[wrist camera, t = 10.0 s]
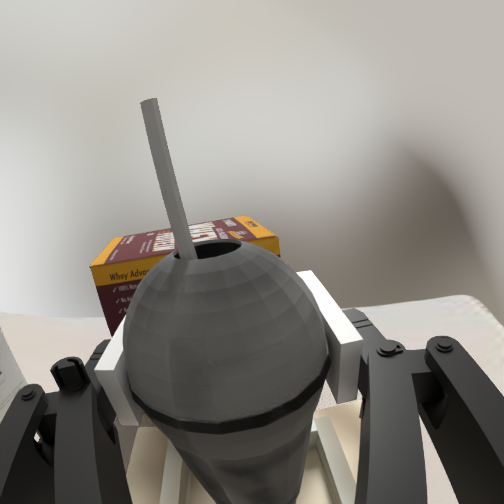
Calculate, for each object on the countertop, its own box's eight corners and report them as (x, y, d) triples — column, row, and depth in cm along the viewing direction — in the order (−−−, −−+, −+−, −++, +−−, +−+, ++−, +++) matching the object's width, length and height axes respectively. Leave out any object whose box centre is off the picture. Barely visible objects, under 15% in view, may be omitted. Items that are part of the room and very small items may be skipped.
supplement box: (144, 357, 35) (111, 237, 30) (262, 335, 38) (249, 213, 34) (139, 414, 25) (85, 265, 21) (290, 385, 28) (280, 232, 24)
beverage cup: (345, 494, 13) (365, 79, 7) (247, 567, 9) (76, 47, 3) (267, 438, 18) (224, 118, 13) (178, 488, 14) (58, 138, 9)
